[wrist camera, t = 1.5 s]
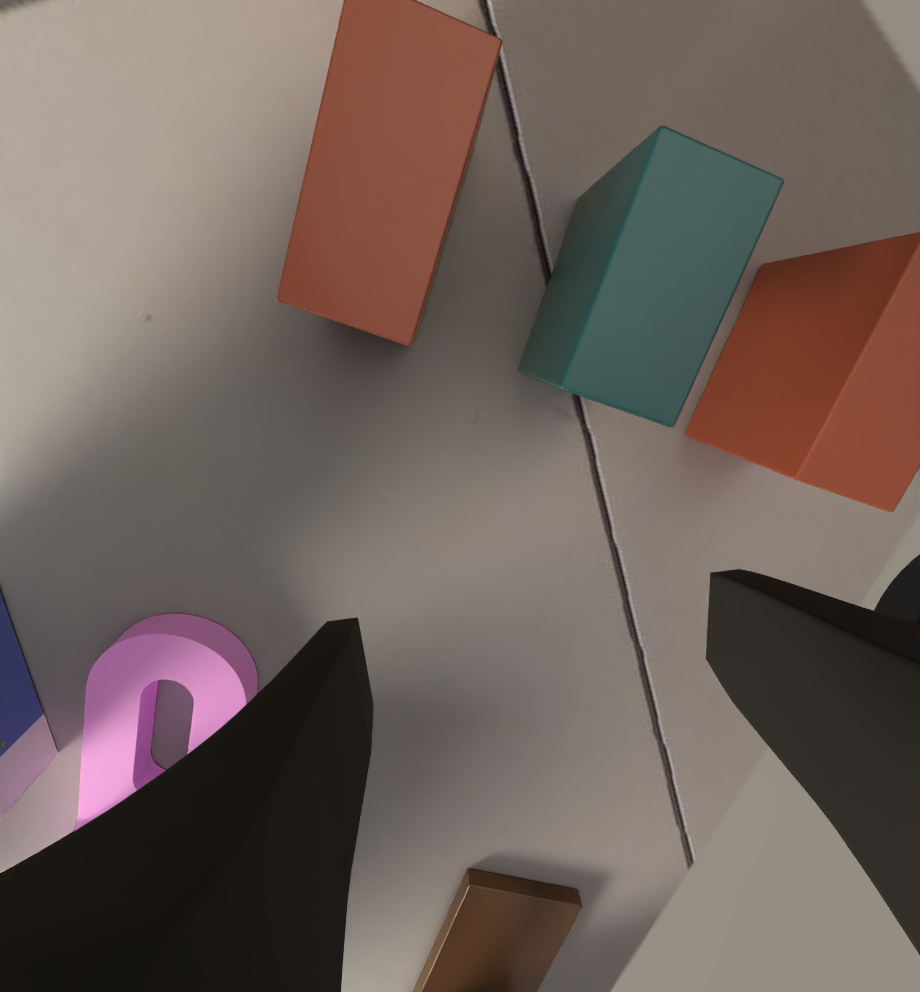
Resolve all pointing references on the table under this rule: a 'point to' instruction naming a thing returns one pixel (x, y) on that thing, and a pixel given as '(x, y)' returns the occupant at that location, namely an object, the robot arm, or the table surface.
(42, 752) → the walkman
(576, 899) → the rack
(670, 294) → the teal rectangular block
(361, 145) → the pair of orange blocks
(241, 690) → the bracket
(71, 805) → the table surface
